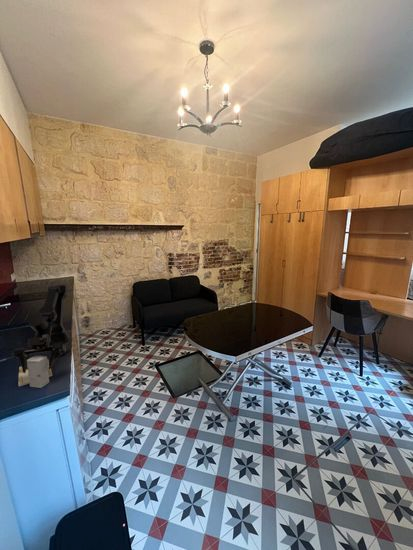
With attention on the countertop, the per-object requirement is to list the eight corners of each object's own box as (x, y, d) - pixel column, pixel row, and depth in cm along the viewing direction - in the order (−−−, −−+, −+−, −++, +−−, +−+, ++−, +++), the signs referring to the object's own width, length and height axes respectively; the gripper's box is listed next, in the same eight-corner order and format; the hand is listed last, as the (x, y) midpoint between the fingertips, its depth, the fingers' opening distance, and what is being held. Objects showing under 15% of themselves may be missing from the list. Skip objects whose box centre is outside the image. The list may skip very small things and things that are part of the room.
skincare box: (29, 387, 99) (25, 360, 97) (38, 380, 103) (34, 355, 101) (42, 388, 98) (38, 361, 96) (50, 381, 102) (47, 355, 100)
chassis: (19, 373, 109) (18, 367, 108) (50, 364, 116) (49, 358, 115) (18, 386, 99) (17, 379, 99) (52, 375, 106) (51, 368, 106)
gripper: (10, 331, 98) (0, 369, 89) (60, 325, 103) (56, 361, 94) (22, 341, 107) (13, 377, 98) (67, 335, 112) (64, 368, 103)
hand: (37, 370), depth 98 cm, fingers open, 9 cm apart
